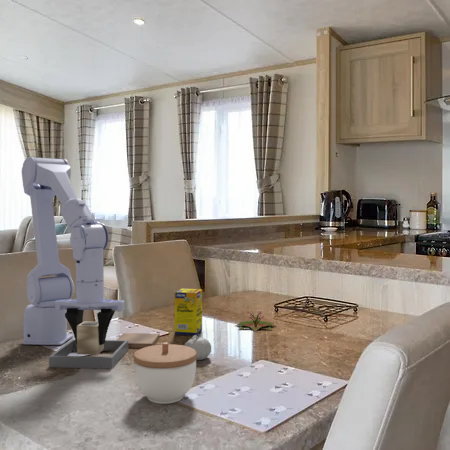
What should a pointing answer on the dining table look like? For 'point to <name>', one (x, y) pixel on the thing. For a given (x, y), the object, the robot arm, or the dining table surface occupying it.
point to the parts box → (88, 338)
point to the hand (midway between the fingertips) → (90, 343)
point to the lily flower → (255, 323)
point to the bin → (66, 361)
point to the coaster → (139, 339)
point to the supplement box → (188, 311)
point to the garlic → (199, 347)
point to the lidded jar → (165, 371)
